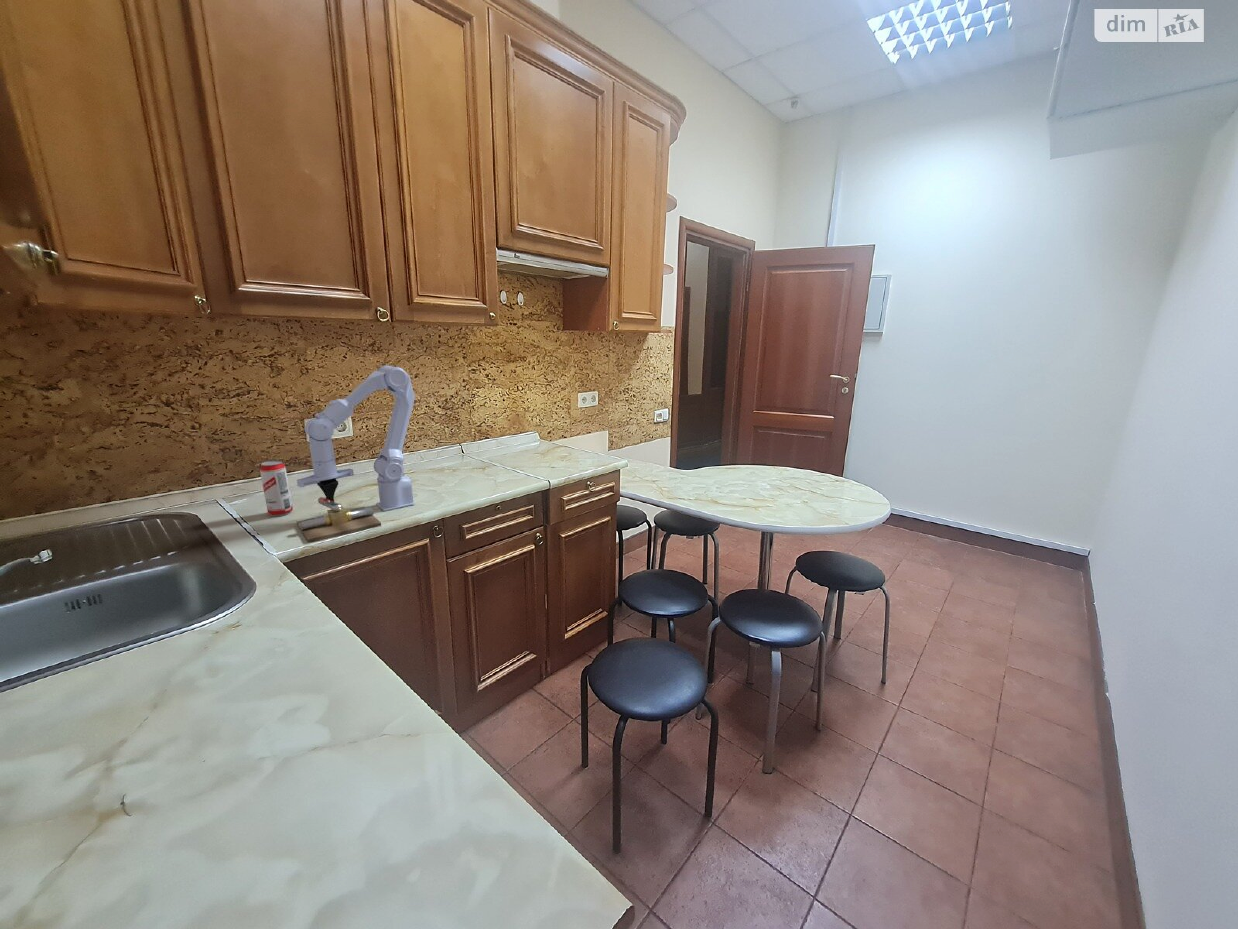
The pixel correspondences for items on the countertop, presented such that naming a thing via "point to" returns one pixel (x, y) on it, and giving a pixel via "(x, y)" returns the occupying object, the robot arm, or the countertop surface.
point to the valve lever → (330, 504)
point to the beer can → (276, 488)
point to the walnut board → (339, 528)
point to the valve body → (336, 518)
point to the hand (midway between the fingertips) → (330, 504)
